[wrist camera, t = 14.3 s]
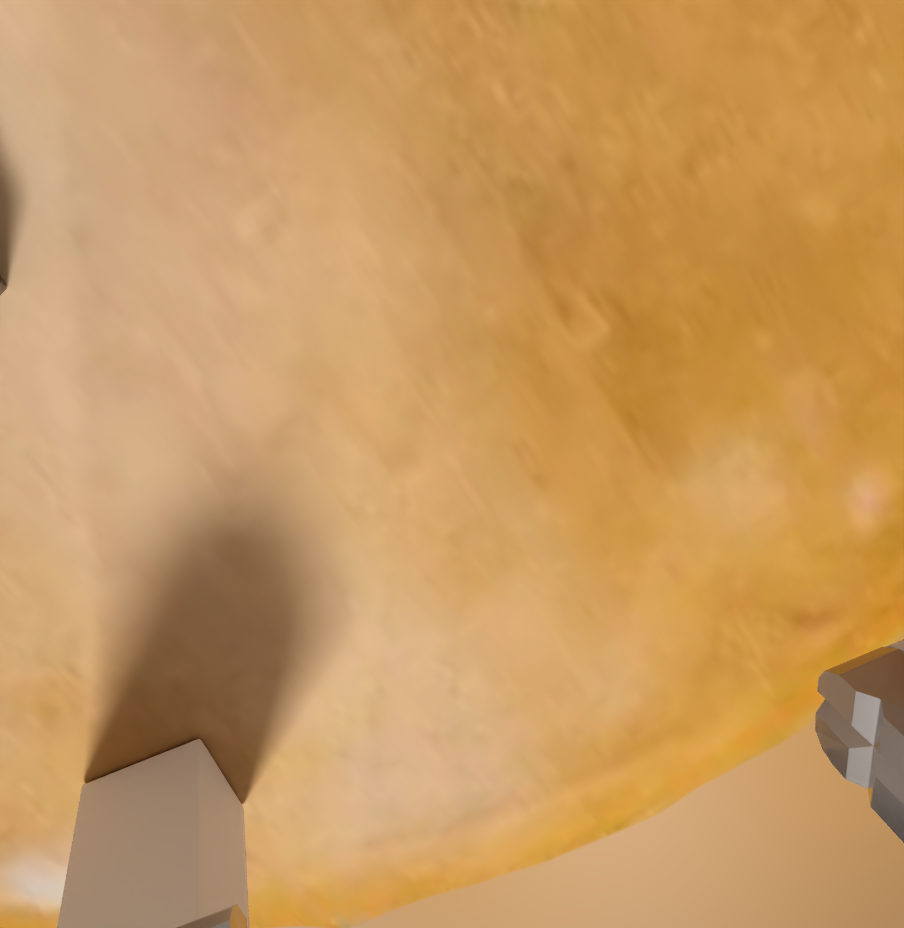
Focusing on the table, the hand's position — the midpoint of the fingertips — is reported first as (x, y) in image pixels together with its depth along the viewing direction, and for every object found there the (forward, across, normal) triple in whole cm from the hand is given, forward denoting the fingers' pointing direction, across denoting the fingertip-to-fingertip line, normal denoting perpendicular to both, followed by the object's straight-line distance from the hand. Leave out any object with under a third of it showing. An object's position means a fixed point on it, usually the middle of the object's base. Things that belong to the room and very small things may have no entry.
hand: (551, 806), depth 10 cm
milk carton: (+29, +17, +28) cm, 44 cm away
